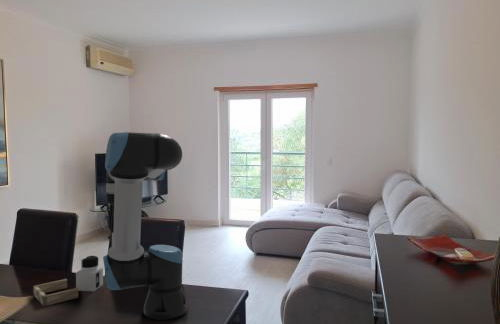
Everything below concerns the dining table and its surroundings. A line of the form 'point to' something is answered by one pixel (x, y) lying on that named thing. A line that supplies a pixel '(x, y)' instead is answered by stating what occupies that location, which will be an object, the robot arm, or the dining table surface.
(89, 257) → the container
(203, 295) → the dining table surface
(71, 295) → the corral
